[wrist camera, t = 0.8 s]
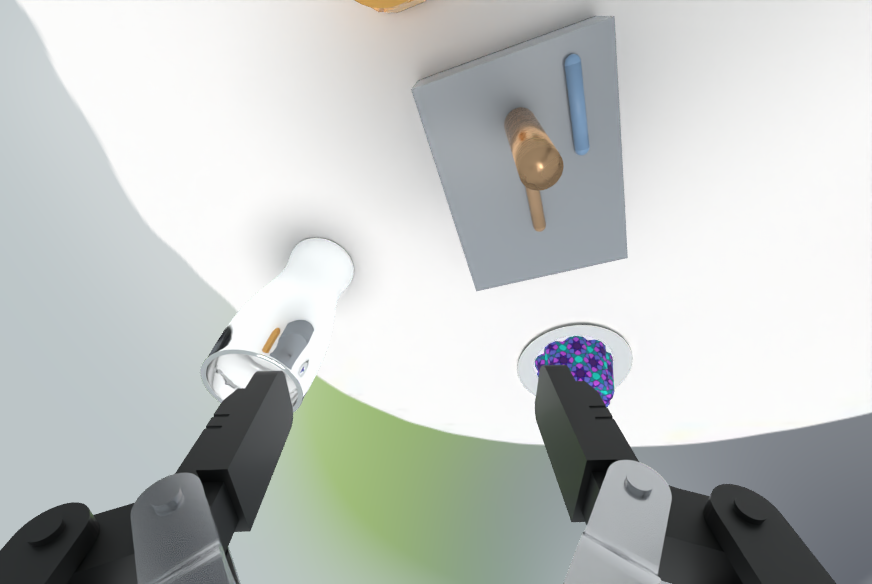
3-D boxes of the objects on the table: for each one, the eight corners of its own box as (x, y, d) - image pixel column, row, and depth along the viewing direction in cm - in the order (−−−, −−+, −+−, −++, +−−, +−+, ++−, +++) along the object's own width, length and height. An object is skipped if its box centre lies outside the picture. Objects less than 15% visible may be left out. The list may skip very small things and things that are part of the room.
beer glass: (350, 230, 35) (286, 347, 23) (365, 293, 39) (317, 421, 27) (276, 234, 36) (176, 348, 23) (298, 295, 40) (222, 421, 27)
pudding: (586, 300, 38) (601, 336, 34) (652, 364, 42) (672, 403, 38) (494, 360, 43) (497, 398, 39) (560, 411, 48) (569, 450, 43)
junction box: (418, 80, 28) (409, 91, 24) (595, 16, 25) (619, 16, 21) (475, 266, 36) (476, 297, 32) (612, 234, 33) (631, 263, 29)
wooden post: (501, 113, 25) (514, 154, 17) (532, 102, 24) (560, 140, 17) (507, 144, 26) (522, 195, 18) (538, 135, 25) (566, 183, 18)
